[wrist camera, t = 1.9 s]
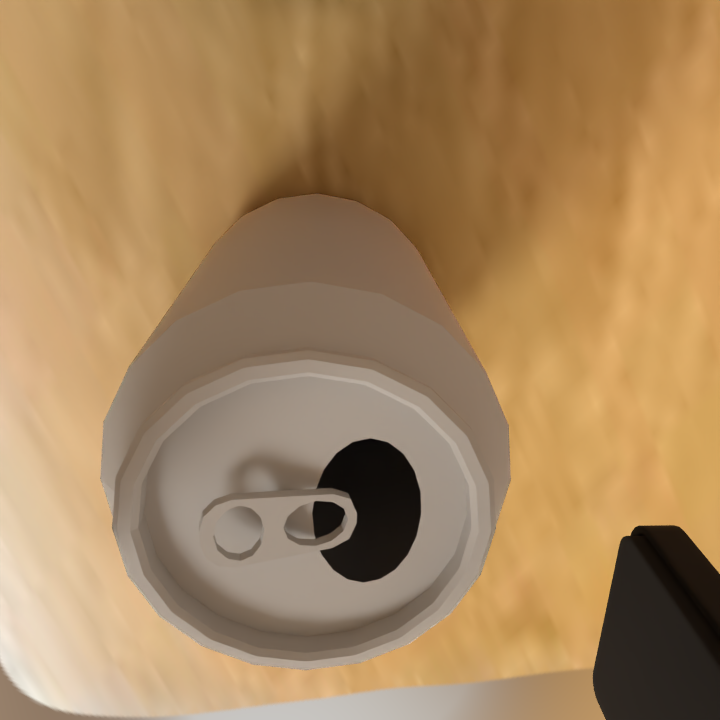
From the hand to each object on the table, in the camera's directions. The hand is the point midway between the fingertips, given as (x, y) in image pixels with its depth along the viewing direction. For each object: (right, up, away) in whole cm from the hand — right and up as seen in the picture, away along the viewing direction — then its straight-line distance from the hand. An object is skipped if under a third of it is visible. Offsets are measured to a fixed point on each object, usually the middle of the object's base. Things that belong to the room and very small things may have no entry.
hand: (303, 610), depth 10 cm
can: (-1, +5, +12) cm, 13 cm away
